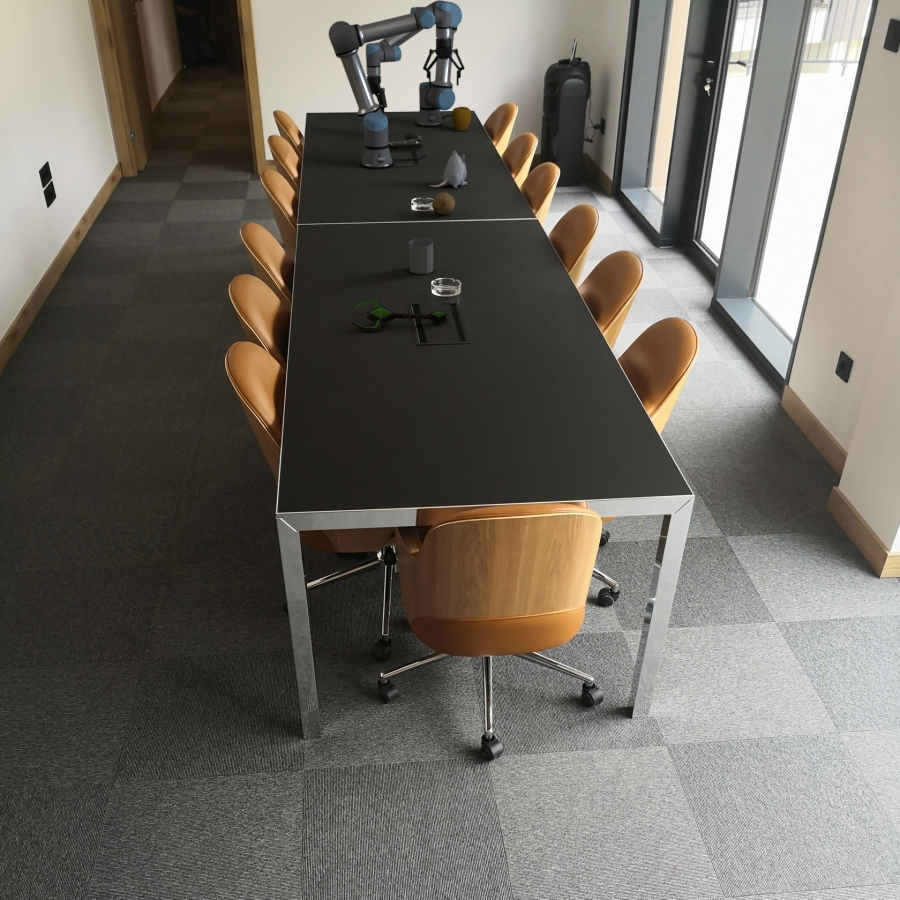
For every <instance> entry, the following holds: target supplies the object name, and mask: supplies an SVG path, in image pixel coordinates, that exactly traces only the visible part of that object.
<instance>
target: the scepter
mask: <svg viewBox="0 0 900 900" xmlns="http://www.w3.org/2000/svg"><path fill="white" fill-rule="evenodd" d="M364 305H374V306H375V308H373V309H370V310H368V311H366V312H365V313H366V314H367V315H368V316H366V317H365V318H366V319H367V320H369V321H371V322H373V323H375V325H374V326H363V325H361V324H358V323H357V322H353V321H351V322H350V324H352V325H353V326H355V327H356V328H358V329H359V330H361V331H364V332H377V331H379V330H380V329H381V327H382V326H383V325H385V324H387V323H390V322H392V321H394V320H397V319H404V320H406V319H407V320H408V319H409V320H413V319H416V320H430V321H432V322H434V323H436V324H442V323H443V322H446V321H448V318H447V316H449V314H448V313H447V312H445V311H441V310H439V309H438V310H436V311H433V312H430V313H403V312H401V313H396V312H395V311H392V310H391V309H389V308H387V307H385V306H383V305H382V303H381V302H380V301H379V300H378V299H377V300H376V299H365V300H362V301H360V302H358V303H356V304H354V305H352V306H351V309H354V308H358V307H361V306H364Z"/></svg>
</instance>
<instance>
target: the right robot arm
mask: <svg viewBox="0 0 900 900" xmlns="http://www.w3.org/2000/svg"><path fill="white" fill-rule="evenodd" d="M442 1H444V2H448V1H446V0H435V1H433V2H431V3H429V4H428V5H427V6H425V7H435V5H436V2H442ZM449 2H450V3H451V11H452V22H451V28H452V37H451V39H452V45H451V47H452V50H453V49H454V42H455V41H454V39H455V34H456V32H458V26H459V25H460V24H461V23H462V21H463V12H462V9H461V7H460V6H459V5H458V4H457V3H455V2H453V1H449ZM434 26H436V24H434ZM423 30H424V29H422V30H417V31H413V32H409V33H405V34H401V35H397V36H393V37H389V38H384V39H380V40H379V41H378V42H376V41H375V42H368V43H366V45H365V63H366V78H367V81H368V84H369V87H370V89H371V92H372V95H373V96H375V98H376V100H377V104H379V106H380V109H381V111H382V114H384V115H386V113H385V112H386V111H385V109H386V108H388V101H387V98H386V89H385V87H381V83H382V76H381V75H382V70H381V69H382V68H381V67H382V66H381V64H382V63H396V62H399V61H401V60H402V56H403V55H402V49H401V47H400V46H402V45H403V44H404V43H407V41H409V40H411V39H412V38H413V37H415V36H416V35H418V34H419V33H421V31H423ZM453 55H454V52H452V54H451V55H450V56H451V57H452V58H453ZM452 65H453V63H452V61H451V60H450V59H449V58H448V59H438V60H437V61H436V63H435V74H434V80H431V86H429V81H422V82H420V83H419V87H418V99H419V101H418V102H419V103H418V104H419V105H418V106H419V111H418V115H417V119H416V125H417V126H419V127H426V128H429V127H432V128H433V127H434V128H435V127H440V126H442V125H444V120H443V119H444V118H445V117H452V113H450V114H444V115H441V114H442V113H441V111H448V110H450V109H451V108H452V107H453V106H454V105H455V102H456V94H455V92H454V90H453V88H454V84H453V83H452V81H451V80H452V79H451V77H452Z"/></svg>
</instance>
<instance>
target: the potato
mask: <svg viewBox="0 0 900 900" xmlns="http://www.w3.org/2000/svg"><path fill="white" fill-rule="evenodd" d="M455 206H456V200H455V198H454V196H452V195H451V194H449V193H448V192H439V193H437V194H436V195H435V197H434V198H433V200H432V201H431V207H432V209H433V210H434V212H436V213H437V214H439V215H441V216H442V215H449V214H450V213H452V212H453V211H454V209H455Z"/></svg>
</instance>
